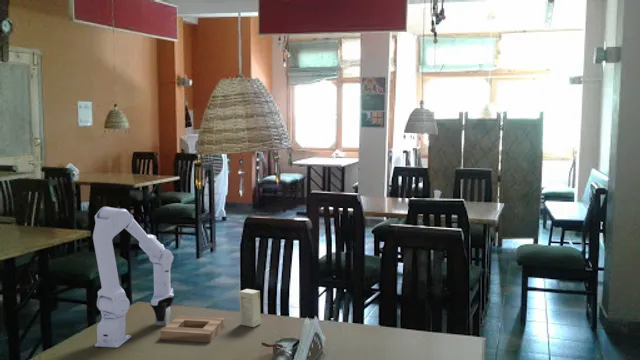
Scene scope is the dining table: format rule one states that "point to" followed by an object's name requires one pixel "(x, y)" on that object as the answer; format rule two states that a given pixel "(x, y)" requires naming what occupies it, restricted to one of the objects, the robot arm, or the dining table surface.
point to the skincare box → (250, 307)
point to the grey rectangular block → (165, 317)
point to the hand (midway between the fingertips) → (163, 318)
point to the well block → (192, 329)
